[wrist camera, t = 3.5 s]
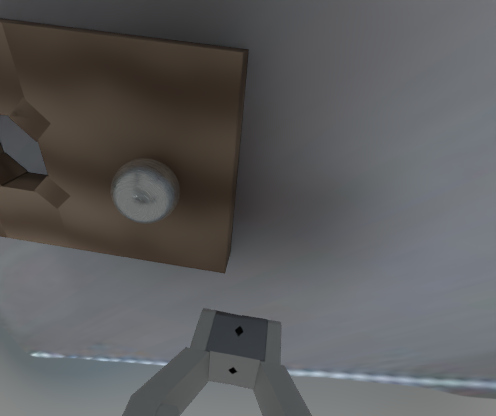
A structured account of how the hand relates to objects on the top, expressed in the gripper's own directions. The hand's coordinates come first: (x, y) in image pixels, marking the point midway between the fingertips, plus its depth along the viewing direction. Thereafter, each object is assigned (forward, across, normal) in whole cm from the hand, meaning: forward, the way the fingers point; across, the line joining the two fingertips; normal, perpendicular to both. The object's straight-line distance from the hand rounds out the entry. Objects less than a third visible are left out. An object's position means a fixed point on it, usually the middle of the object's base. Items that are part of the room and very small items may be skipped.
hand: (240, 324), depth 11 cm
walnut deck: (+12, +13, -1) cm, 18 cm away
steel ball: (+8, +7, 0) cm, 11 cm away
